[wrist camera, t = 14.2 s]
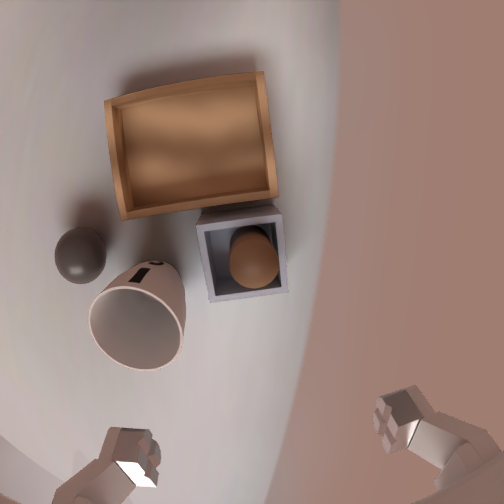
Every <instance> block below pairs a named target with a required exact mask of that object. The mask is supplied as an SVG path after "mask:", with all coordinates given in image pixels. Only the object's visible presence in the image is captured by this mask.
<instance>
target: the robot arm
mask: <svg viewBox="0 0 504 504" xmlns="http://www.w3.org/2000/svg"><path fill="white" fill-rule="evenodd" d="M376 405H377V407H378V408H377V409H376V410H375V411H374V415H373V422H374V426H375V429H376V432H377V434H380V435H381V436H383V439H382V444H383V446H384V448H385V450H386V452H387V454H388V455H389V454H392V453H395V452H398V451H400V450H403V449H406V448H408V449H409V450H411V451H412V452H414V453H415V454H417V455H419V456H420V457H422V458H423V459H425V460H427V461H428V462H430V463H432V464H433V465H435V466H437V467H438V468H440V469H442V471H441V472H440V474H439V475H438V476H437V478H436V479H435V481H434V483H435V485H436V487H437V489H438V492H435V493H433V494H431V495H429V496H427V497H425V498H423V499H421V500H419V501H416V502H414V503H412V504H504V451H503V452H502V451H501V449H500V448H499V446H498V445H497V444H496V442H495V441H494V440H493V438H492V437H491V435H490V434H489V433H488V431H487V430H485V429H482V428H480V427H477V426H475V425H472V424H469V423H467V422H464V421H462V420H459V419H457V418H454V417H452V416H449V415H447V414H444V413H442V412H440V411H439V412H435V411H434V409H433V408H432V406H431V405H430V403H429V402H428V401H427V399H426V398H425V396H424V395H423V394H422V392H421V391H420V390H419V388H418V387H417V386H416V385H413V386H410V387H408V388H405V389H401V390H398V391H395V392H392V393H389V394H386V395H383V396H380V397H378V399H377V402H376ZM160 461H161V451H160V447H159V445H158V443H157V442H156V441H155V440H153V439H152V433H151V432H150V430H149V429H133V428H120V427H110V428H109V429H108V432H107V434H106V437H105V440H104V443H103V446H102V449H101V452H100V455H99V458H98V459H94V460H93V461H92V462H91V463H89V464H88V465H87V466H86V467H85V468H83V469H82V470H81V471H79V472H78V473H77V474H76V475H74V476H73V477H72V478H70V479H69V480H68V481H67V482H65V483H64V484H63V485H61V486H60V487H59V488H58V489H57V490H56V492H55V495H54V498H53V501H52V504H121V503H122V502H123V501H124V500H125V499H126V498H127V497H128V495H129V494H130V493H131V492H132V491H133V490H134V488H135V487H136V486H149V487H157V481H158V475H159V473H158V471H157V470H156V467H157V466H158V465H159V464H160ZM0 504H21V503H19V502H17V501H15V500H13V499H11V498H9V497H7V496H5V495H3V494H1V493H0Z"/></svg>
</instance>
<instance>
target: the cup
mask: <svg viewBox="0 0 504 504" xmlns="http://www.w3.org/2000/svg"><path fill="white" fill-rule="evenodd" d="M185 319H186V303H185V290H184V286H183V283H182V281H181V279H180V276H179V274H178V272H177V271H176V269H175V268H174V267H173V266H171V265H170V264H168V263H166V262H164V261H160V260H153V261H147V262H142V263H139V264H137V265H135V266H134V267H132V268H130V269H129V270H127V271H125V272H124V273H122V274H120V275H119V276H118V277H117V278H115V279H114V280H113V281H112V282H111V283H110V284H109V285H108V286H107V287H106V288H105V289H104V290H103V291H102V292H101V293H100V294H99V295H98V296H97V297H96V298H95V299H94V301H93V302H92V304H91V306H90V309H89V314H88V324H89V329H90V332H91V335H92V337H93V339H94V341H95V343H96V344H97V346H98V347H99V348H100V349H101V351H102V352H103V353H104V354H105V355H107V356H108V357H109V358H110V359H112V360H113V361H115V362H116V363H118V364H120V365H122V366H124V367H127V368H130V369H133V370H139V371H153V370H158V369H161V368H164V367H166V366H168V365H169V364H171V363H172V362H173V361H174V360H175V359H176V358H177V356H178V355H179V353H180V351H181V348H182V344H183V336H184V327H185Z"/></svg>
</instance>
